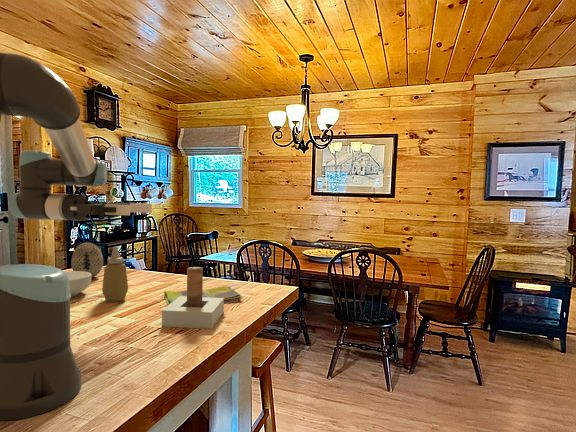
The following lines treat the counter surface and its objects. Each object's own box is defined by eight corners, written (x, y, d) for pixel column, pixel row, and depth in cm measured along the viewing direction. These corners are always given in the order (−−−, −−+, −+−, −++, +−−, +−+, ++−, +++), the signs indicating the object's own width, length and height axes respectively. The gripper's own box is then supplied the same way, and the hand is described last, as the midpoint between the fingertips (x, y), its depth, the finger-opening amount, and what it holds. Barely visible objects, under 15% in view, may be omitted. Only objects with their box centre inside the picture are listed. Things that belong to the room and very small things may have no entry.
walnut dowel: (199, 321, 106) (200, 270, 105) (184, 321, 106) (185, 269, 105) (204, 316, 111) (204, 267, 110) (189, 316, 111) (189, 266, 110)
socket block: (211, 328, 101) (212, 312, 101) (161, 326, 102) (161, 310, 102) (223, 312, 115) (223, 298, 115) (179, 310, 116) (179, 296, 116)
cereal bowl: (101, 290, 137) (101, 271, 136) (70, 303, 120) (70, 282, 120) (58, 288, 138) (58, 269, 138) (22, 300, 122) (22, 279, 121)
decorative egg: (71, 282, 147) (70, 245, 146) (71, 276, 157) (71, 241, 156) (103, 279, 152) (103, 243, 151) (102, 274, 163) (102, 240, 162)
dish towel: (163, 296, 132) (163, 288, 132) (229, 290, 142) (229, 283, 142) (169, 311, 117) (169, 302, 116) (243, 303, 127) (243, 295, 126)
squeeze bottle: (118, 304, 120) (118, 249, 119) (96, 302, 122) (96, 248, 121) (133, 297, 128) (133, 246, 127) (112, 295, 130) (112, 245, 129)
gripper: (93, 217, 118) (158, 219, 117) (36, 223, 93) (118, 226, 92) (93, 193, 118) (158, 195, 117) (36, 193, 93) (118, 196, 92)
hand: (141, 209), depth 104 cm, fingers open, 13 cm apart
